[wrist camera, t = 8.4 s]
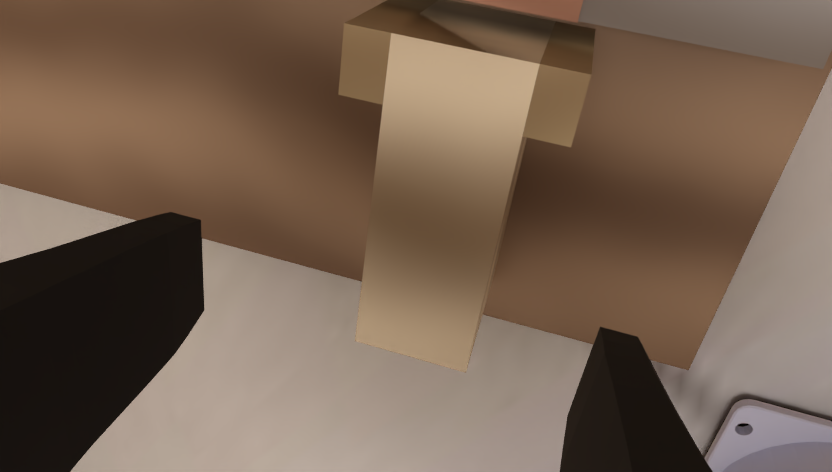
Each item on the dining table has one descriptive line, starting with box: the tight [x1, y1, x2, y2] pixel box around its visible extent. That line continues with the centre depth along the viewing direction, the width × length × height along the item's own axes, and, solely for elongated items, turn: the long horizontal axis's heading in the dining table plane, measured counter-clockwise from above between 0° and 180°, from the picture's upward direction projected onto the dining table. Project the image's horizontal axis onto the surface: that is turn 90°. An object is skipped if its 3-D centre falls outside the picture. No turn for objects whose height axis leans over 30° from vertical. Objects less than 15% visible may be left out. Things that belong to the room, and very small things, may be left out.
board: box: [0, 0, 832, 370], centre depth 18 cm, size 12×28×4 cm, turn 82°
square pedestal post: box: [338, 0, 595, 373], centre depth 17 cm, size 8×5×4 cm, turn 172°
